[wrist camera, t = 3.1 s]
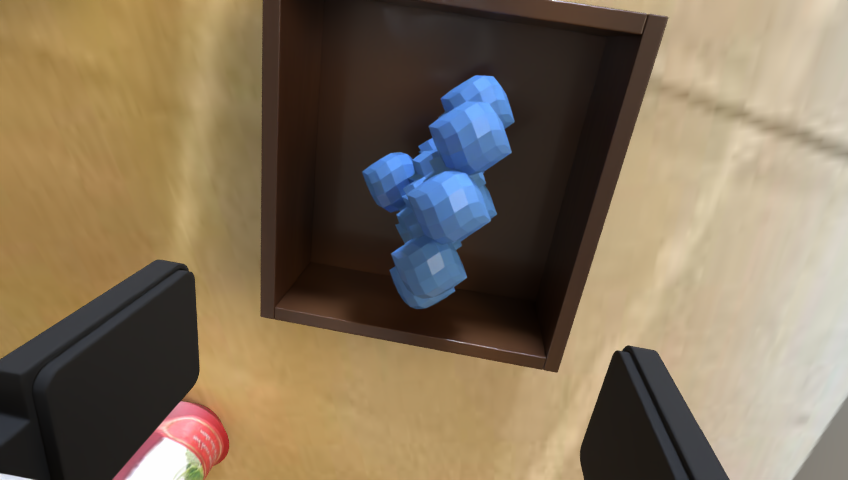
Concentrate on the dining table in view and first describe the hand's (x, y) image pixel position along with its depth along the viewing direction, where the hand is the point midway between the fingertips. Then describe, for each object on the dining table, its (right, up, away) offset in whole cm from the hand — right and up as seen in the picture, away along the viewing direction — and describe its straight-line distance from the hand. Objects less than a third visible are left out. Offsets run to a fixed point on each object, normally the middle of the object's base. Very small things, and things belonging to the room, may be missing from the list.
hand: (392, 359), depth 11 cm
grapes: (+2, +7, +18) cm, 19 cm away
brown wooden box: (+2, +7, +18) cm, 20 cm away
